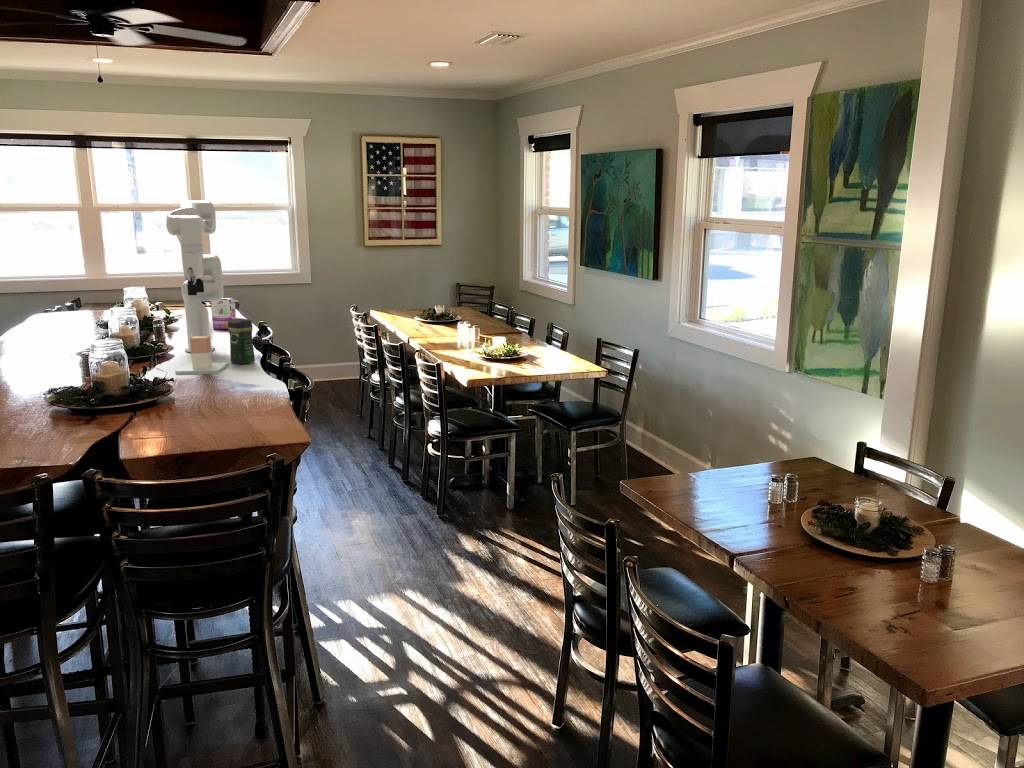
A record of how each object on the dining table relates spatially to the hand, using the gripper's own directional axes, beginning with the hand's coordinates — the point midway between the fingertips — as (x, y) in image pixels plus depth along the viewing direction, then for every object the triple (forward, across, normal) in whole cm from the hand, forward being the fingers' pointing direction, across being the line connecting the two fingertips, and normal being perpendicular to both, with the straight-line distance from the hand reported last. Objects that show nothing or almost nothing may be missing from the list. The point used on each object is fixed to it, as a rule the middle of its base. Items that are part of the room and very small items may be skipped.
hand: (196, 293), depth 314 cm
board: (+30, 0, 0) cm, 30 cm away
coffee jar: (+31, -14, +13) cm, 36 cm away
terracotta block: (+23, 0, 0) cm, 23 cm away
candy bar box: (+31, -105, -17) cm, 111 cm away
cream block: (+29, 0, 0) cm, 29 cm away
